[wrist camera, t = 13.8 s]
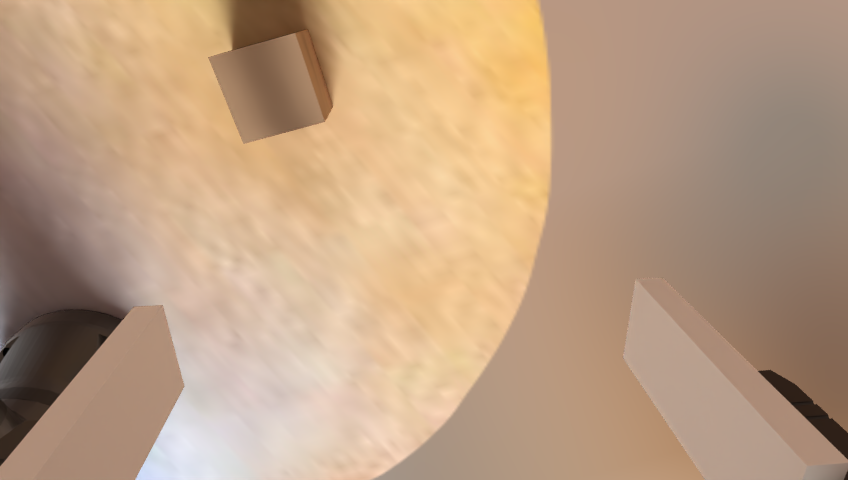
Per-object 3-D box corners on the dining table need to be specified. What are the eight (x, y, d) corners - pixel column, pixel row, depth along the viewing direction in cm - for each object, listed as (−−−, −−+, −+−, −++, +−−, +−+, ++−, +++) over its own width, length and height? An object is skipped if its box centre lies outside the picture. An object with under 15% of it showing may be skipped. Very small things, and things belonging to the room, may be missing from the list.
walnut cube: (262, 125, 43) (243, 143, 37) (232, 50, 40) (208, 57, 35) (332, 106, 42) (324, 121, 37) (307, 29, 40) (295, 33, 34)
